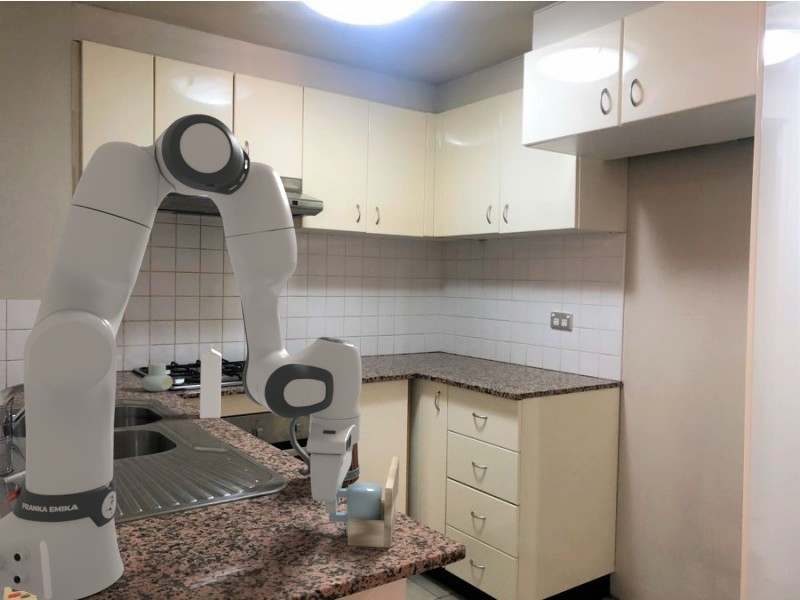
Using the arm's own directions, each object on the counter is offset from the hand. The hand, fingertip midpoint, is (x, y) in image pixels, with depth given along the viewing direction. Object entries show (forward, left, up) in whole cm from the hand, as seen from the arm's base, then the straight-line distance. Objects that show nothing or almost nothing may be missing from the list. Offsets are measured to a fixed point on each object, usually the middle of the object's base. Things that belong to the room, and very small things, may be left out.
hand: (332, 508), depth 107 cm
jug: (+4, 0, -4) cm, 6 cm away
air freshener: (-84, +112, -4) cm, 140 cm away
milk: (-51, +78, -4) cm, 93 cm away
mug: (-6, +27, -4) cm, 28 cm away
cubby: (+7, +4, -4) cm, 9 cm away
